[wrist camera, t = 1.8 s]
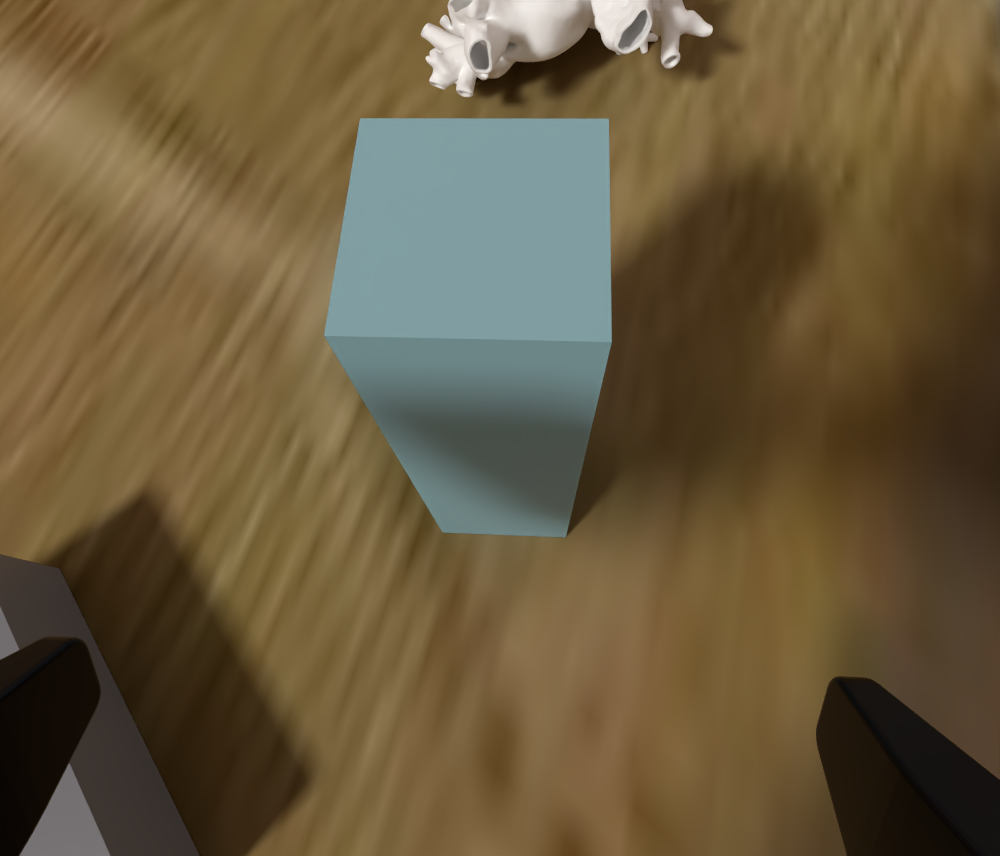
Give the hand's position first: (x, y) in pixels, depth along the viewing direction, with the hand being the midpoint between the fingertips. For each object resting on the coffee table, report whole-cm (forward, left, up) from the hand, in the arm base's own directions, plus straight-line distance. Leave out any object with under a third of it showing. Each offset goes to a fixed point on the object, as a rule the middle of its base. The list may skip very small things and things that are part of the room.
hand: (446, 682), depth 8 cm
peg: (+5, -4, -12) cm, 14 cm away
